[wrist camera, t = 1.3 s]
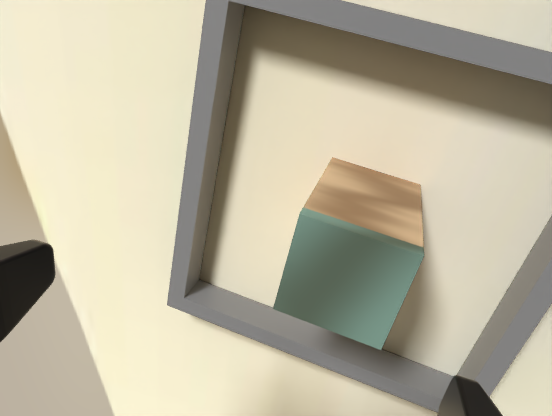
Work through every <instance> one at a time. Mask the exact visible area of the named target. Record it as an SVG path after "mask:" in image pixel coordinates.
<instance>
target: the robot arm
mask: <svg viewBox="0 0 552 416" xmlns="http://www.w3.org/2000/svg"><path fill="white" fill-rule="evenodd" d="M54 278H55V264H54V253H53V248H52V246H51V245H49V244H48V243H44V242H41V241H38V240H28V241H23V242H18V243H14V244H9V245H4V246H0V342H1V341H2V340H3V339H4V338H5V337H6V336H7V335H8V334H9V333H10V332H11V331H12V329H13V328H14V327H15V326H16V325H17V324H18V323H19V321H20V320H21V319H22V318H23V317H24V316H25V314H26V313H27V312H28V311H29V310H30V309H31V307H32V306H33V305H34V304H35V303H36V302H37V300H38V299H39V298H40V297H41V296H42V295H43V293H44V292H45V291H46V290H47V289H48V288H49V287H50V285H51V284H52V282H53V280H54ZM437 416H503V415H502V414H501V412H500V411H499V410H498V408H497V407H496V406H495V404H494V403H493V401H492V400H491V399H490V397H489V396H488V395H487V393H486V392H485V390H484V389H483V388H482V386H481V385H480V384H479V383H478V382H477V381H475V380H472V379H469V378H466V377H463V376H460V375H456V376H454V377H453V378H452V379H451V381H450V383H449V385H448V388H447V390H446V392H445V394H444V396H443V398H442V400H441V403H440V405H439V409H438V415H437Z"/></svg>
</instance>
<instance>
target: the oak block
mask: <svg viewBox="0 0 552 416" xmlns="http://www.w3.org/2000/svg"><path fill="white" fill-rule="evenodd" d="M423 257H424V244H423V225H422V206H421V187H420V185H419V184H416V183H413V182H410V181H407V180H403V179H400V178H397V177H394V176H391V175H387V174H384V173H381V172H378V171H374V170H371V169H368V168H365V167H362V166H358V165H355V164H352V163H349V162H345V161H342V160H339V159H336V158H333V157H332V159H331V161H330V163H329V164H328V166H327V168H326V169H325V171H324V173H323V175H322V176H321V178H320V180H319V181H318V183H317V185H316V187H315V188H314V190H313V192H312V193H311V195H310V197H309V199H308V200H307V202H306V204H305V205H304V207H303V209H302V211H301V212H300V214H299V218H298V221H297V225H296V228H295V232H294V236H293V239H292V243H291V246H290V250H289V254H288V257H287V261H286V264H285V268H284V271H283V275H282V279H281V282H280V286H279V289H278V293H277V297H276V300H275V304H274V307H273V309H274V310H277V311H279V312H282V313H285V314H287V315H290V316H292V317H295V318H298V319H300V320H303V321H306V322H308V323H311V324H313V325H316V326H319V327H321V328H324V329H327V330H329V331H332V332H335V333H337V334H340V335H342V336H345V337H348V338H350V339H353V340H356V341H358V342H361V343H364V344H366V345H369V346H371V347H374V348H377V349H379V350H381V349H382V347H383V345H384V342H385V340H386V338H387V336H388V334H389V331H390V329H391V327H392V325H393V323H394V321H395V318H396V316H397V314H398V312H399V310H400V307H401V305H402V303H403V301H404V299H405V297H406V294H407V292H408V290H409V288H410V286H411V284H412V281H413V279H414V277H415V275H416V273H417V270H418V268H419V266H420V264H421V262H422V260H423Z"/></svg>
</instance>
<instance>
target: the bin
mask: <svg viewBox="0 0 552 416" xmlns="http://www.w3.org/2000/svg"><path fill="white" fill-rule="evenodd" d="M245 5H247V6H251V7H255V8H259V9H263V10H267V11H270V12H274V13H278V14H282V15H286V16H290V17H294V18H297V19H301V20H305V21H309V22H313V23H317V24H321V25H325V26H328V27H332V28H336V29H340V30H344V31H348V32H352V33H355V34H359V35H363V36H367V37H371V38H375V39H379V40H383V41H386V42H390V43H394V44H398V45H402V46H406V47H410V48H413V49H417V50H421V51H425V52H429V53H433V54H437V55H441V56H444V57H448V58H452V59H456V60H460V61H464V62H468V63H471V64H475V65H479V66H483V67H487V68H491V69H495V70H499V71H502V72H506V73H510V74H514V75H518V76H522V77H526V78H529V79H533V80H537V81H541V82H545V83H549V84H552V52H548V51H544V50H540V49H536V48H532V47H528V46H524V45H520V44H516V43H512V42H508V41H504V40H500V39H495V38H491V37H487V36H483V35H479V34H475V33H471V32H467V31H463V30H459V29H455V28H451V27H447V26H443V25H439V24H435V23H431V22H427V21H423V20H418V19H414V18H410V17H406V16H402V15H398V14H394V13H390V12H386V11H382V10H378V9H374V8H370V7H366V6H362V5H358V4H354V3H350V2H346V1H341V0H206V3H205V11H204V19H203V27H202V35H201V43H200V50H199V58H198V66H197V74H196V82H195V90H194V97H193V105H192V113H191V121H190V129H189V137H188V144H187V152H186V160H185V168H184V176H183V184H182V192H181V199H180V207H179V215H178V223H177V231H176V239H175V246H174V254H173V262H172V270H171V278H170V286H169V293H168V301H167V305H168V306H170V307H173V308H176V309H178V310H181V311H183V312H186V313H188V314H191V315H193V316H196V317H198V318H201V319H203V320H206V321H208V322H211V323H213V324H216V325H218V326H221V327H223V328H226V329H228V330H231V331H233V332H236V333H238V334H241V335H244V336H246V337H249V338H251V339H254V340H256V341H259V342H261V343H264V344H266V345H269V346H271V347H274V348H276V349H279V350H281V351H284V352H286V353H289V354H291V355H294V356H296V357H299V358H301V359H304V360H306V361H309V362H312V363H314V364H317V365H319V366H322V367H324V368H327V369H329V370H332V371H334V372H337V373H339V374H342V375H344V376H347V377H349V378H352V379H354V380H357V381H359V382H362V383H364V384H367V385H369V386H372V387H375V388H377V389H380V390H382V391H385V392H387V393H390V394H392V395H395V396H397V397H400V398H402V399H405V400H407V401H410V402H412V403H415V404H417V405H420V406H422V407H425V408H427V409H430V410H432V411H435V412H437V413H438V409H439V405H440V403H441V400H442V398H443V396H444V394H445V392H446V390H447V388H448V385H449V383H450V381H451V379H452V378H453V376H450V375H448V374H445V373H443V372H440V371H437V370H435V369H432V368H429V367H427V366H424V365H422V364H419V363H416V362H414V361H411V360H408V359H406V358H403V357H401V356H398V355H395V354H393V353H390V352H387V351H385V350H382V349H381V350H379V349H377V348H374V347H371V346H369V345H366V344H364V343H361V342H358V341H356V340H353V339H350V338H348V337H345V336H342V335H340V334H337V333H335V332H332V331H329V330H327V329H324V328H321V327H319V326H316V325H313V324H311V323H308V322H306V321H303V320H300V319H298V318H295V317H292V316H290V315H287V314H285V313H282V312H279V311H277V310H274V309H273V308H272V307H269V306H267V305H264V304H261V303H259V302H256V301H254V300H251V299H248V298H246V297H243V296H240V295H238V294H235V293H233V292H230V291H227V290H225V289H222V288H219V287H217V286H214V285H211V284H209V283H206V282H204V281H201V280H199V277H200V271H201V265H202V259H203V253H204V247H205V241H206V235H207V229H208V223H209V218H210V212H211V206H212V200H213V194H214V188H215V182H216V176H217V170H218V164H219V158H220V152H221V146H222V140H223V134H224V128H225V122H226V116H227V110H228V104H229V98H230V92H231V86H232V80H233V74H234V68H235V62H236V56H237V50H238V44H239V38H240V32H241V26H242V20H243V14H244V8H245ZM551 304H552V216H551V218H550V220H549V221H548V223H547V225H546V226H545V228H544V230H543V231H542V233H541V235H540V236H539V238H538V240H537V241H536V243H535V245H534V246H533V248H532V250H531V251H530V253H529V255H528V256H527V258H526V260H525V261H524V263H523V265H522V266H521V268H520V270H519V271H518V273H517V275H516V276H515V278H514V280H513V282H512V283H511V285H510V287H509V288H508V290H507V292H506V293H505V295H504V297H503V298H502V300H501V302H500V303H499V305H498V307H497V308H496V310H495V312H494V313H493V315H492V317H491V318H490V320H489V322H488V323H487V325H486V327H485V328H484V330H483V332H482V333H481V335H480V337H479V338H478V340H477V342H476V343H475V345H474V347H473V349H472V350H471V352H470V354H469V355H468V357H467V359H466V360H465V362H464V364H463V365H462V367H461V369H460V370H459V372H458V374H457V375H460V376H463V377H466V378H469V379H472V380H475V381H477V382H478V383H479V384H480V385H481V386H482V388H483V389H484V390H485V392H486V393H487V395H488V396H490V395H491V393H492V392H493V390H494V389H495V387H496V386H497V384H498V383H499V381H500V380H501V378H502V377H503V375H504V374H505V372H506V371H507V369H508V368H509V366H510V365H511V363H512V362H513V360H514V359H515V357H516V356H517V354H518V353H519V351H520V350H521V348H522V347H523V345H524V344H525V342H526V341H527V339H528V338H529V336H530V335H531V333H532V332H533V330H534V329H535V327H536V326H537V325H538V323H539V322H540V320H541V319H542V317H543V316H544V314H545V313H546V311H547V310H548V308H549V307H550V305H551Z"/></svg>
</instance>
